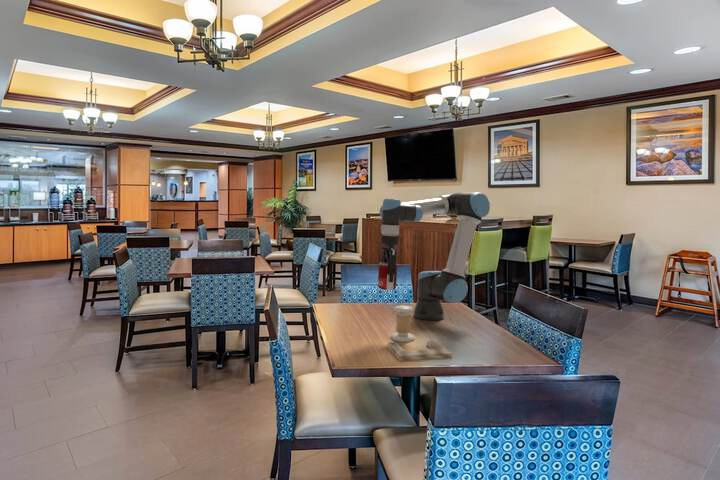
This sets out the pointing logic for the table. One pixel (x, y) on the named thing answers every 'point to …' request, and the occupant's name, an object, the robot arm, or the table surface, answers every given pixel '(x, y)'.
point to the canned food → (385, 276)
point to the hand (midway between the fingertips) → (386, 287)
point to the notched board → (420, 352)
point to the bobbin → (403, 324)
